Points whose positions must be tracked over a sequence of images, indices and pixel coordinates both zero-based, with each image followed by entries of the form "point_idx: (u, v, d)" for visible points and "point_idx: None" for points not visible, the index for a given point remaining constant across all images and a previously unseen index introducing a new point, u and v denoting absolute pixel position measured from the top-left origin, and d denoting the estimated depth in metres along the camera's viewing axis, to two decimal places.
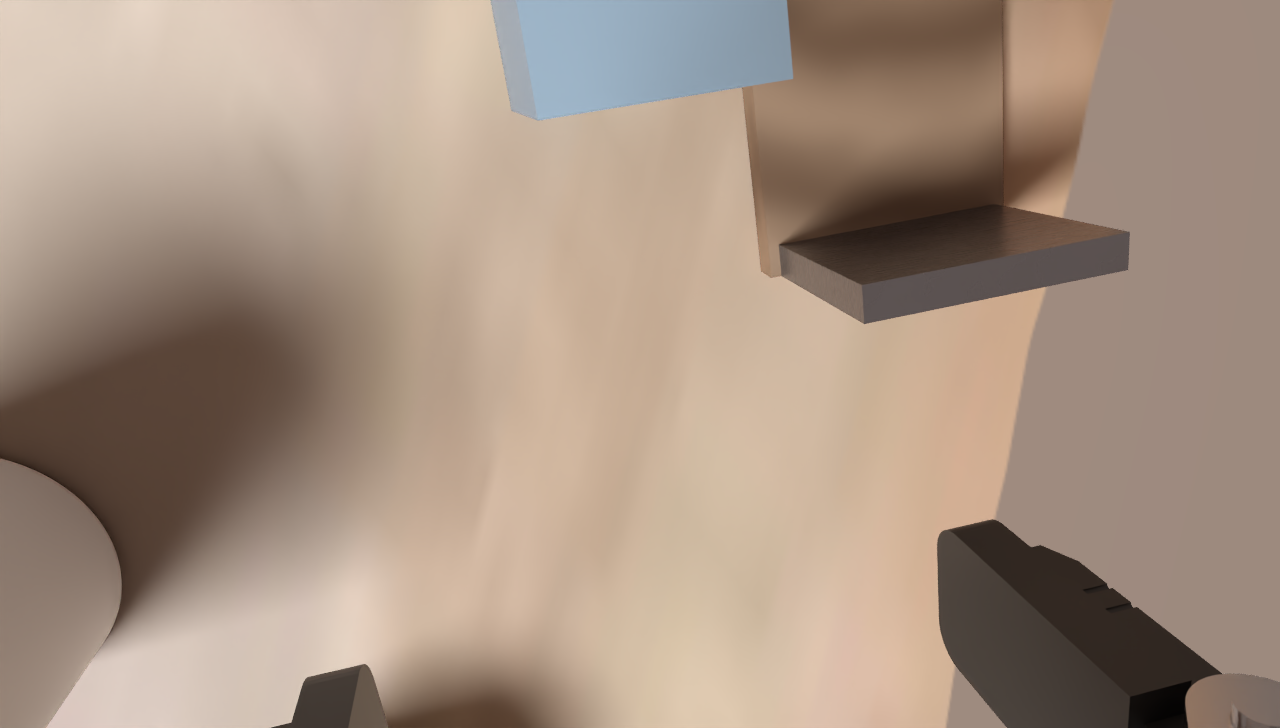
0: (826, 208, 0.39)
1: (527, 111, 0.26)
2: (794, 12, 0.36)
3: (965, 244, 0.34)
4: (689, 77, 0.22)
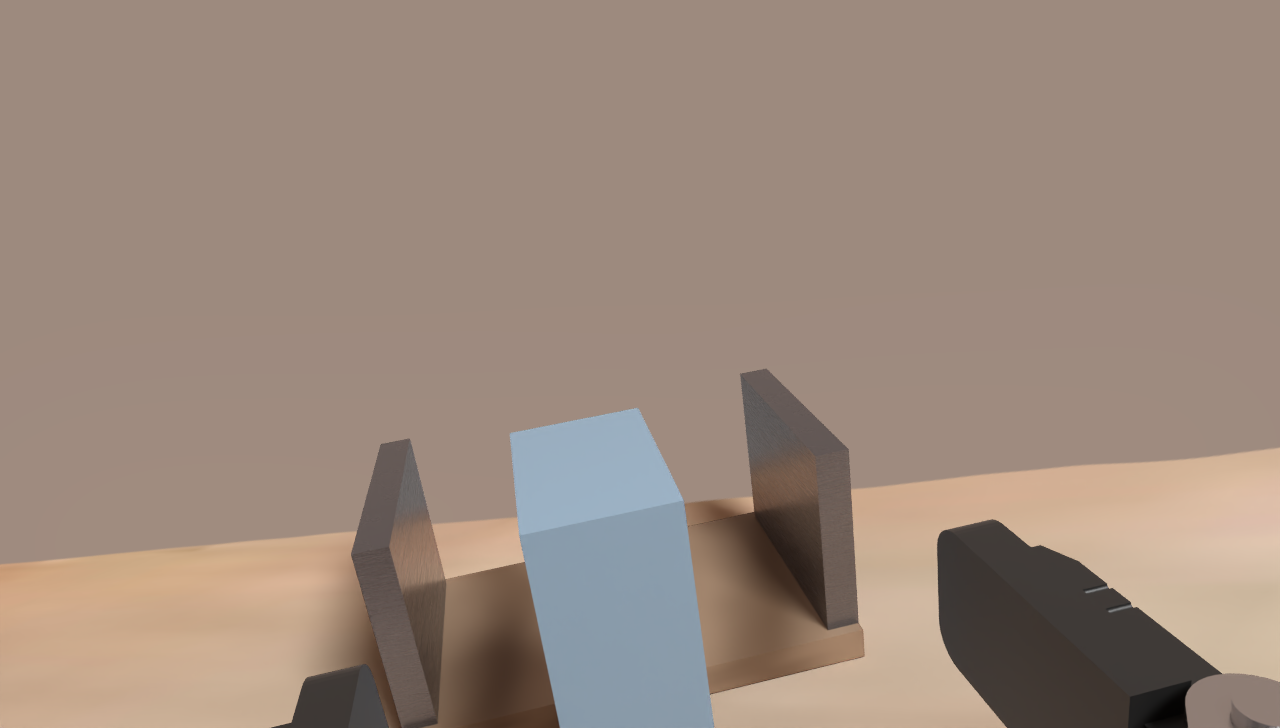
0: (784, 605, 0.41)
1: (694, 623, 0.24)
2: None
3: (775, 457, 0.42)
4: (639, 442, 0.27)
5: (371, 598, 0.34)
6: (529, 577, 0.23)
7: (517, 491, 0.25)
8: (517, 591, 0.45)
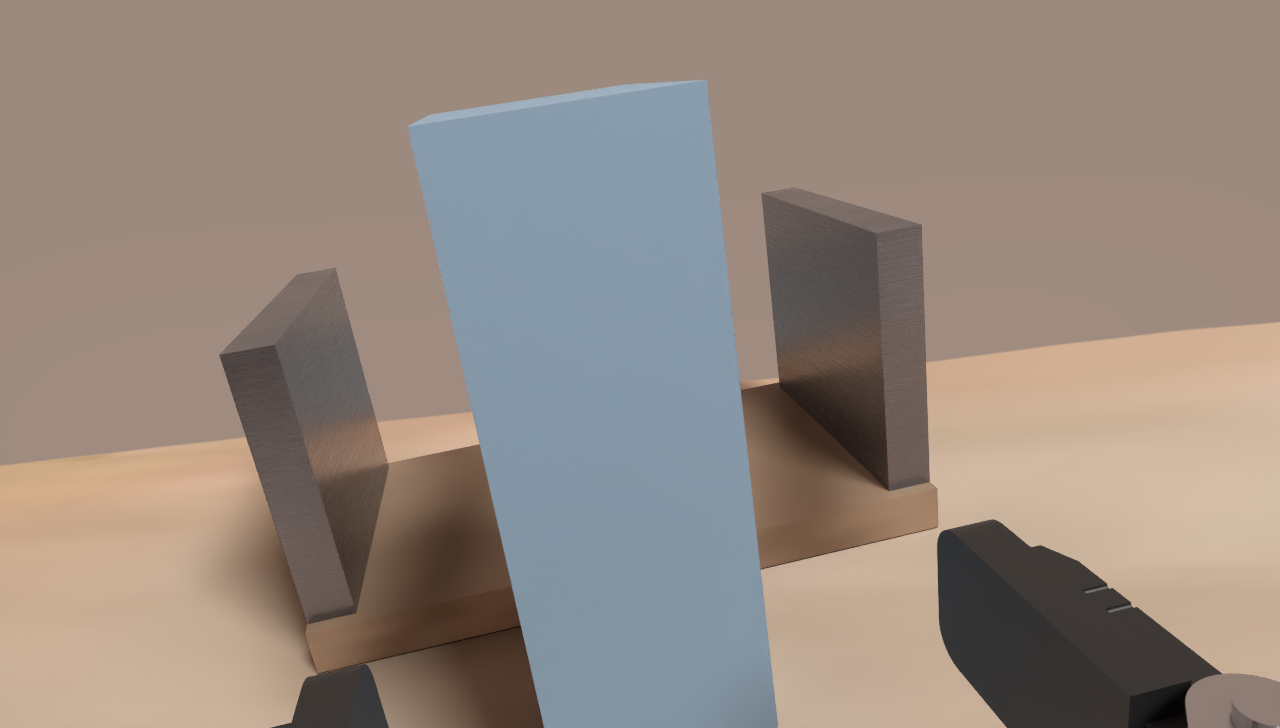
0: (826, 468, 0.31)
1: (724, 331, 0.14)
2: None
3: (811, 280, 0.32)
4: (629, 86, 0.17)
5: (252, 423, 0.24)
6: (430, 217, 0.13)
7: (422, 120, 0.15)
8: (477, 470, 0.35)
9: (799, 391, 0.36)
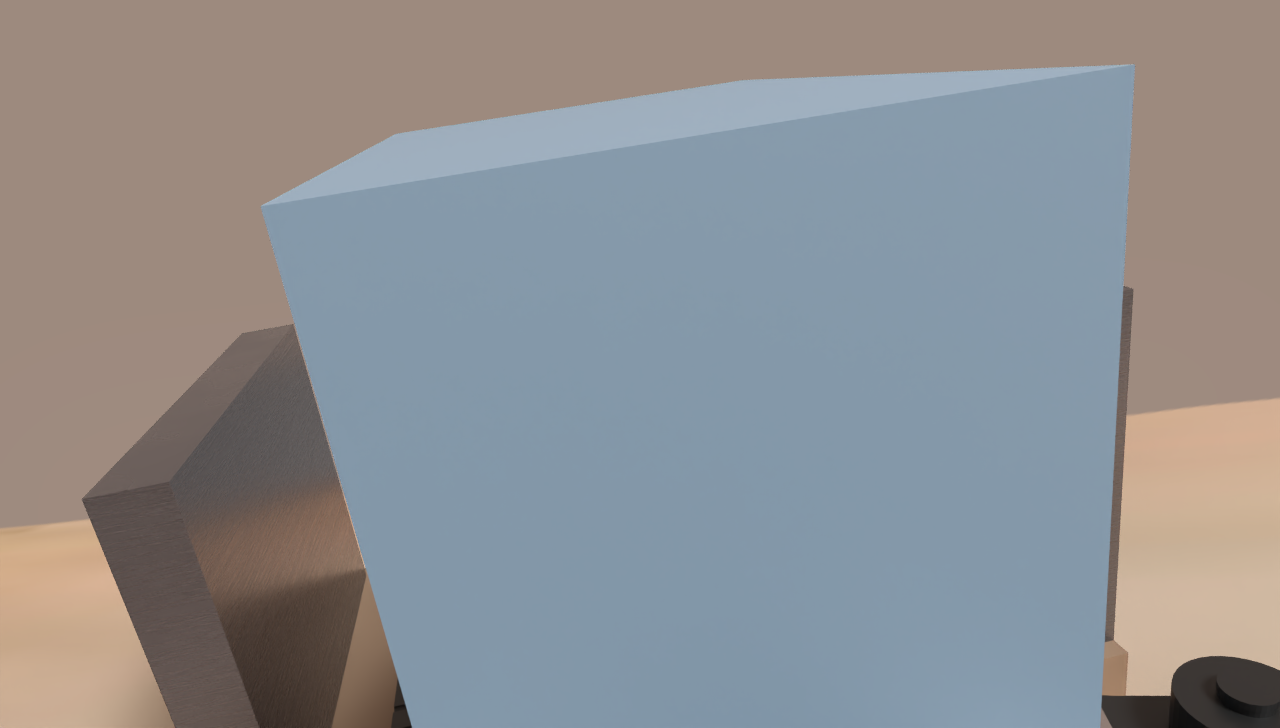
0: None
1: (1081, 681, 0.06)
2: None
3: None
4: (783, 84, 0.08)
5: (139, 596, 0.16)
6: (342, 461, 0.04)
7: (352, 161, 0.06)
8: None
9: None
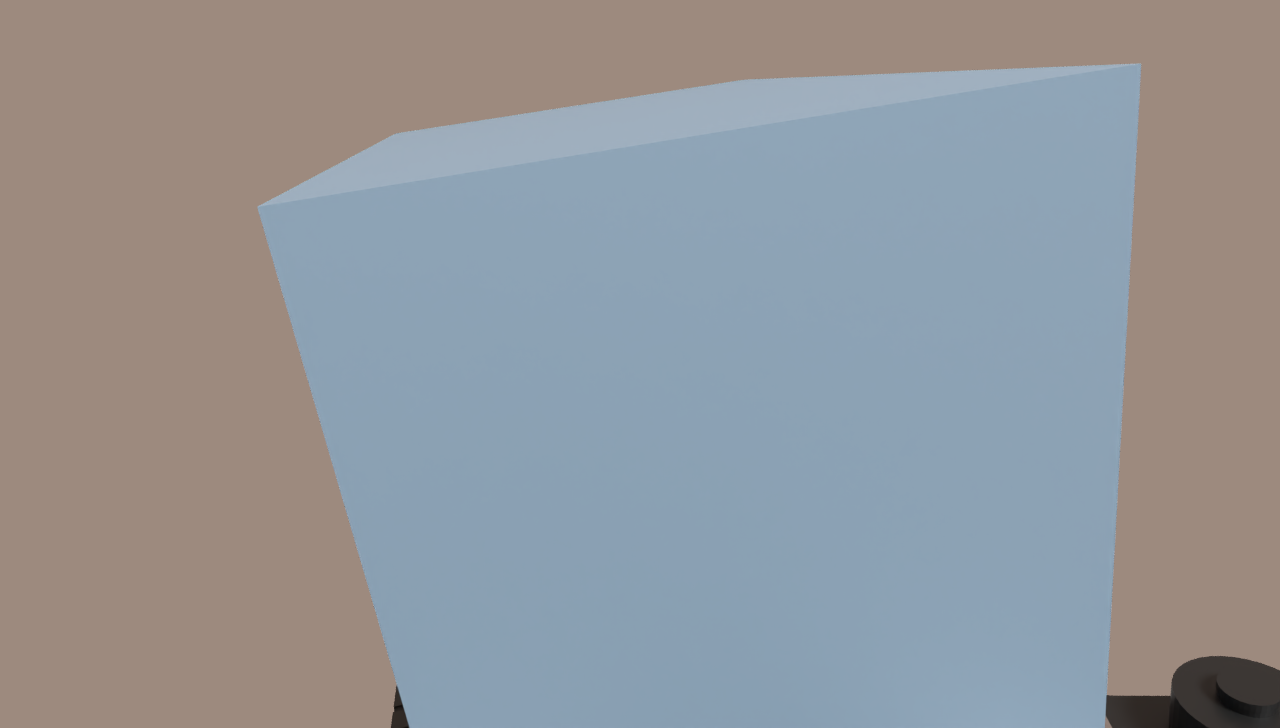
0: None
1: (1085, 685, 0.06)
2: None
3: None
4: (785, 83, 0.08)
5: None
6: (340, 463, 0.04)
7: (351, 161, 0.06)
8: None
9: None
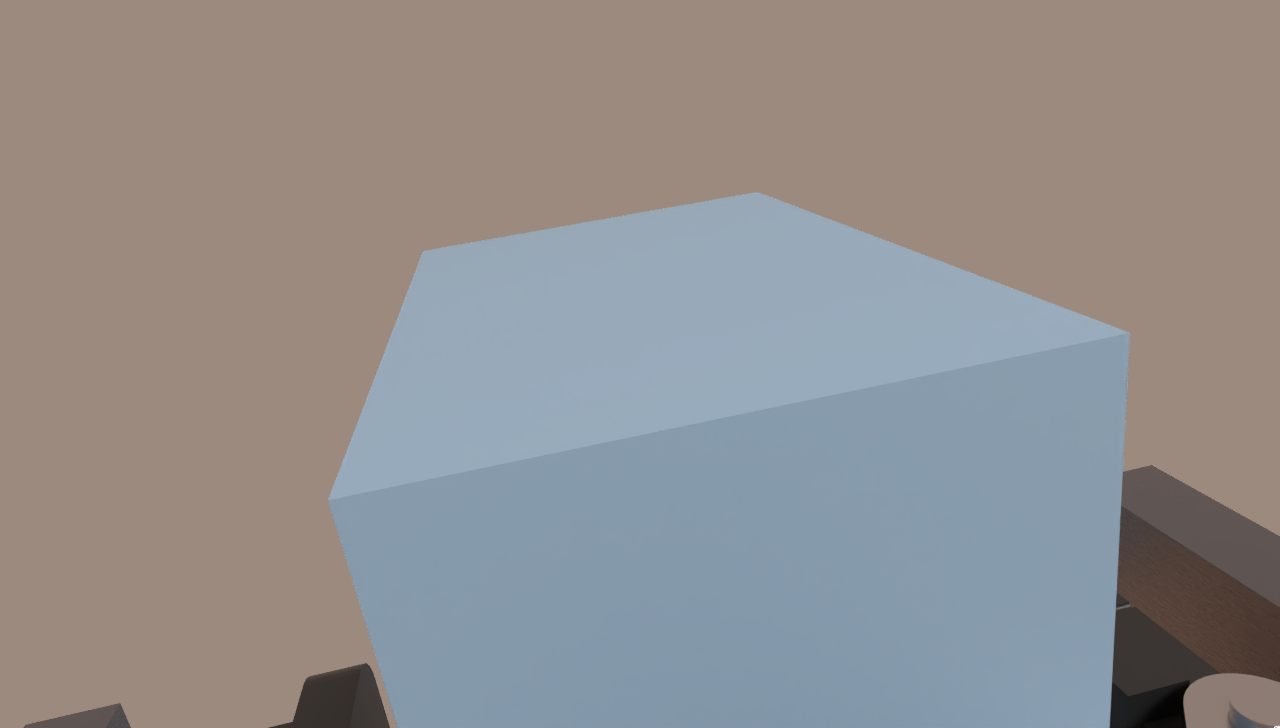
0: None
1: None
2: None
3: None
4: (798, 230, 0.09)
5: None
6: (398, 704, 0.05)
7: (393, 351, 0.07)
8: None
9: None
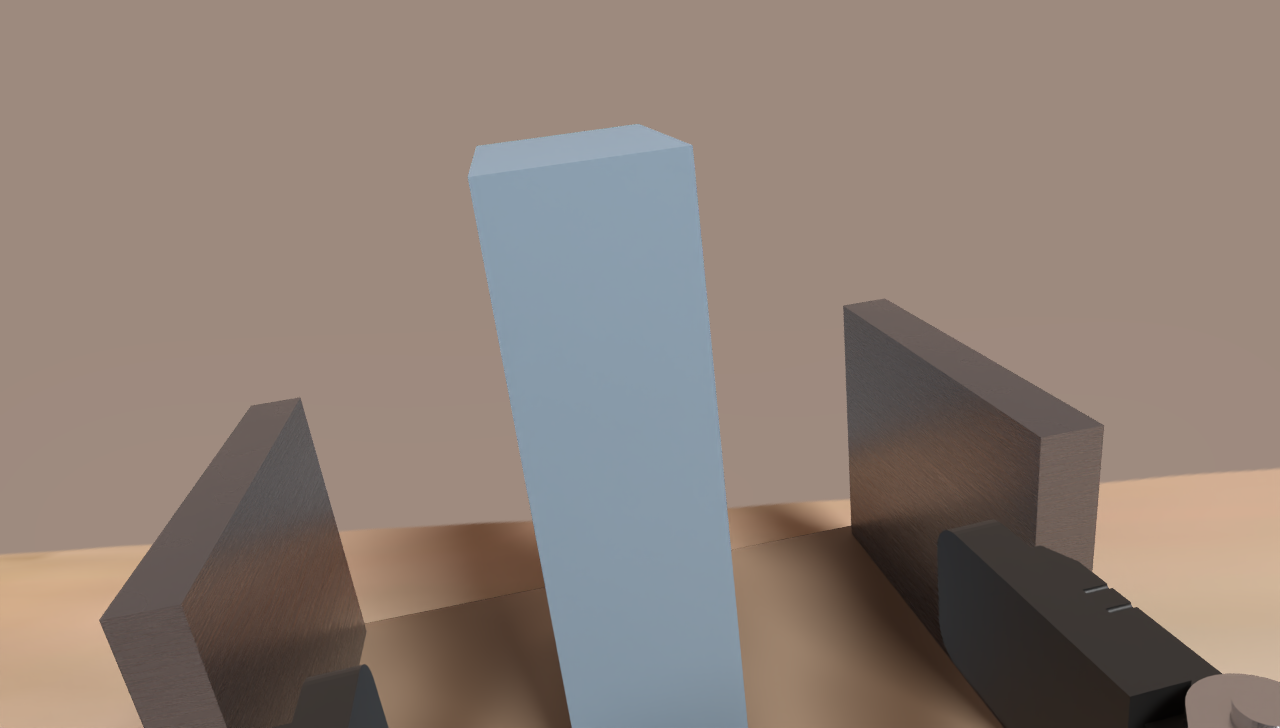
0: (931, 698, 0.24)
1: (703, 334, 0.18)
2: None
3: (916, 441, 0.25)
4: (637, 133, 0.21)
5: (151, 706, 0.17)
6: (482, 243, 0.17)
7: (474, 163, 0.19)
8: (476, 649, 0.28)
9: (882, 555, 0.29)
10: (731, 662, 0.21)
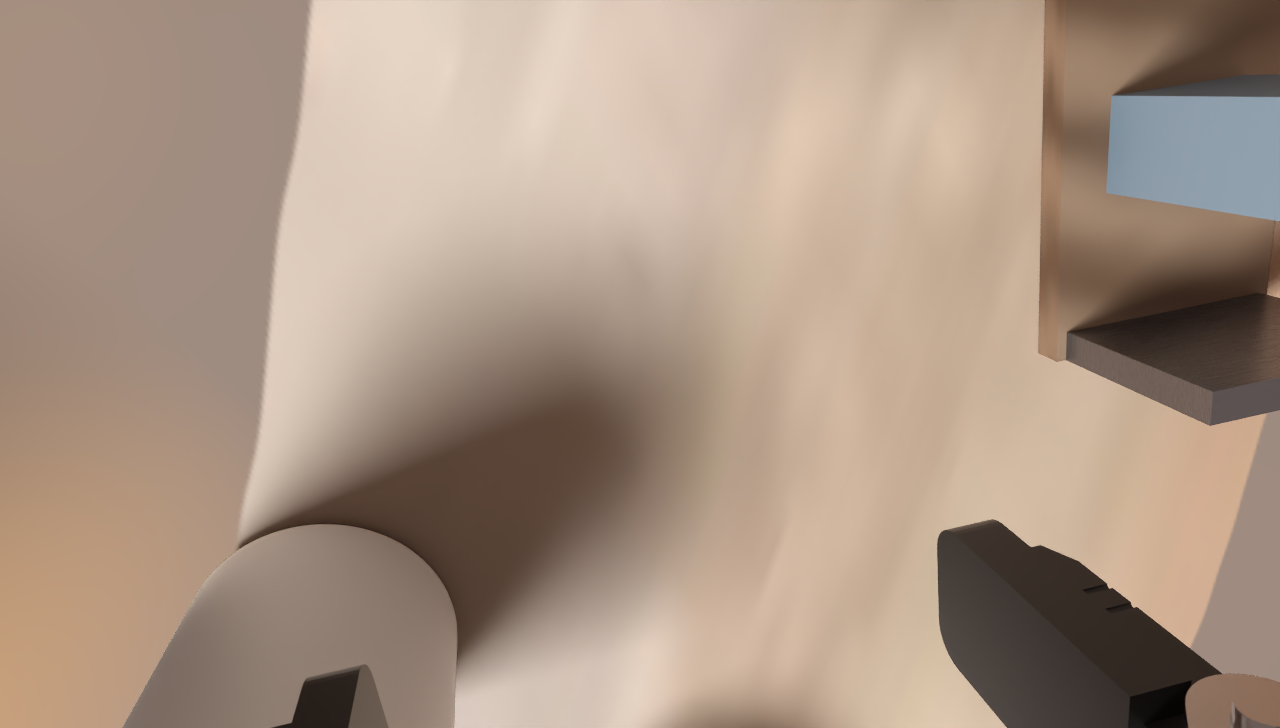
0: (1111, 299, 0.42)
1: None
2: (1105, 124, 0.39)
3: (1277, 345, 0.37)
4: None
5: None
6: None
7: None
8: (1247, 7, 0.39)
9: (1224, 305, 0.43)
10: (1157, 195, 0.37)
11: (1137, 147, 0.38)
